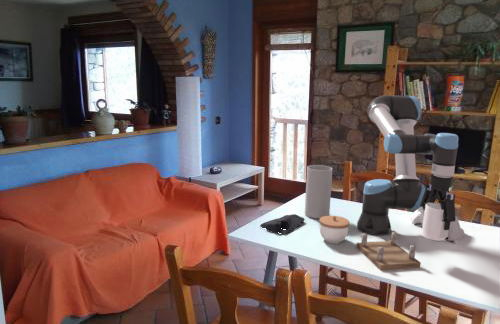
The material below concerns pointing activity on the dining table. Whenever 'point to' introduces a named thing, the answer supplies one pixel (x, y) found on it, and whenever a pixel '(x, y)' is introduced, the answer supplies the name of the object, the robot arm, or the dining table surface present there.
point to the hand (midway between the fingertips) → (434, 231)
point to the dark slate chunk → (283, 223)
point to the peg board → (388, 254)
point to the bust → (417, 216)
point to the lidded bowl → (333, 228)
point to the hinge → (455, 231)
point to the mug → (432, 221)
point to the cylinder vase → (318, 191)
